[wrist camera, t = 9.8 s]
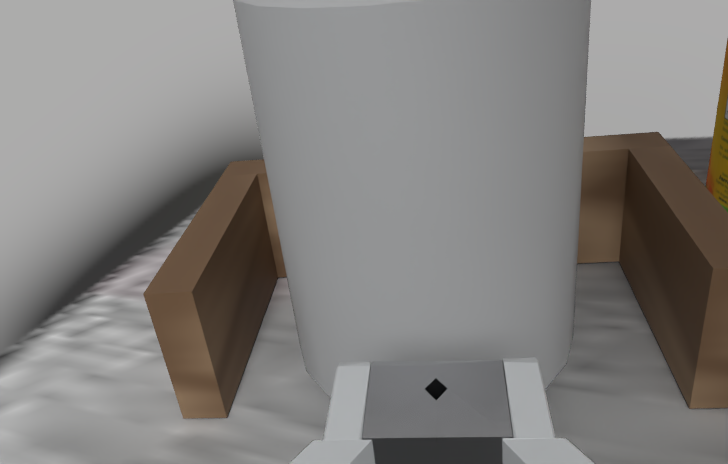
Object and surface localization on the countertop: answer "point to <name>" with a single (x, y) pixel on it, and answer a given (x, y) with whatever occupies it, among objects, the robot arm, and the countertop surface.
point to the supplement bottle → (720, 145)
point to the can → (423, 173)
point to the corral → (595, 244)
